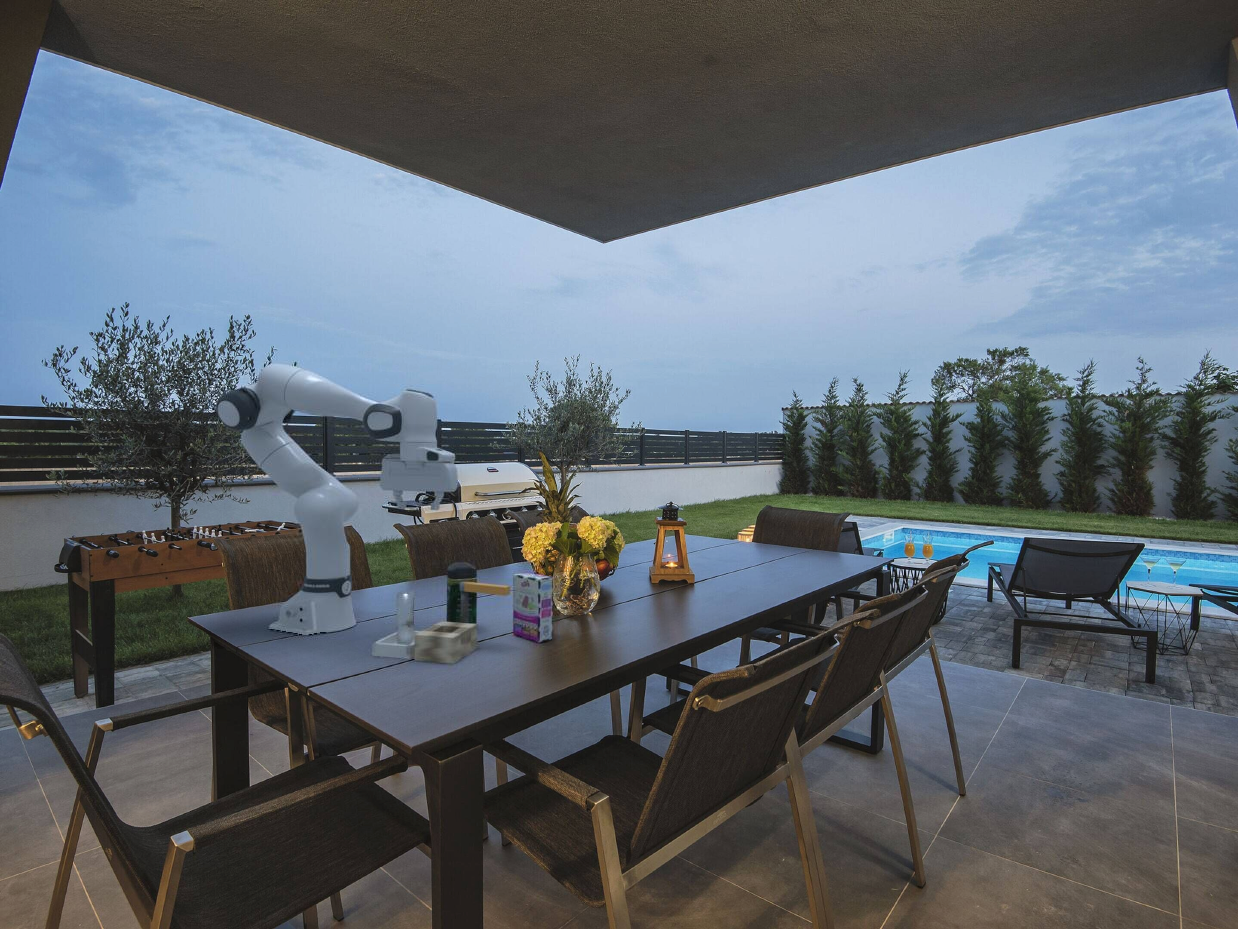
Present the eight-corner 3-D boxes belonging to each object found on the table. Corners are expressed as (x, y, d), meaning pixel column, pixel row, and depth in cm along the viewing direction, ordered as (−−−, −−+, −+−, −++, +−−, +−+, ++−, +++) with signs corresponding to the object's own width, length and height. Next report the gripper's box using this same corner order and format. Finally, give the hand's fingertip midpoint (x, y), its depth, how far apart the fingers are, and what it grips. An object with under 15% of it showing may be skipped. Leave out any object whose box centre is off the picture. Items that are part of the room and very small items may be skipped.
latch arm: (505, 595, 150) (505, 587, 150) (457, 590, 155) (457, 582, 155) (510, 593, 152) (510, 585, 152) (463, 589, 157) (463, 581, 157)
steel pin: (393, 647, 149) (393, 594, 149) (402, 642, 153) (402, 590, 152) (407, 648, 148) (408, 595, 148) (416, 643, 152) (417, 591, 152)
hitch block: (414, 660, 142) (414, 603, 142) (450, 639, 159) (450, 588, 159) (453, 663, 140) (453, 606, 140) (486, 642, 157) (486, 590, 157)
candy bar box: (554, 639, 159) (554, 576, 159) (539, 643, 156) (539, 579, 155) (527, 631, 167) (527, 571, 167) (512, 635, 163) (512, 573, 163)
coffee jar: (479, 634, 164) (479, 565, 164) (448, 637, 161) (448, 566, 161) (474, 625, 173) (474, 559, 173) (445, 627, 170) (445, 561, 170)
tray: (372, 656, 146) (372, 643, 145) (401, 641, 157) (401, 629, 157) (409, 659, 143) (409, 646, 143) (436, 644, 155) (436, 632, 155)
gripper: (374, 453, 153) (374, 508, 154) (448, 454, 149) (447, 511, 149) (389, 454, 160) (389, 507, 160) (461, 454, 155) (460, 509, 155)
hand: (418, 509), depth 154 cm, fingers open, 8 cm apart
